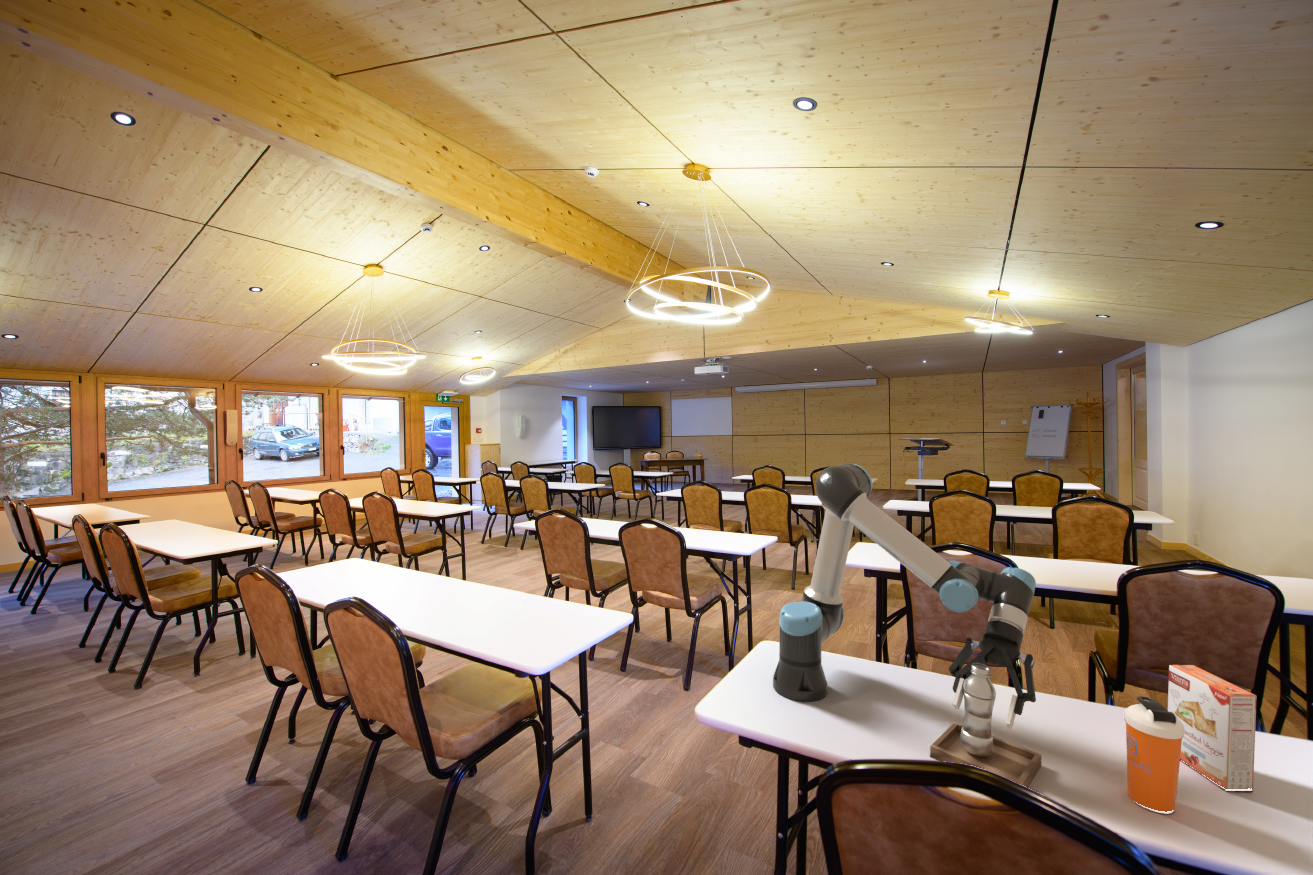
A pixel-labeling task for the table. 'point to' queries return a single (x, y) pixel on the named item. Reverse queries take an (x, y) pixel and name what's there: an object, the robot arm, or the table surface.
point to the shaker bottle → (1153, 754)
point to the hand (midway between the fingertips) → (981, 716)
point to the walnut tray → (1001, 761)
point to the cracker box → (1214, 725)
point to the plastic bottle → (978, 711)
